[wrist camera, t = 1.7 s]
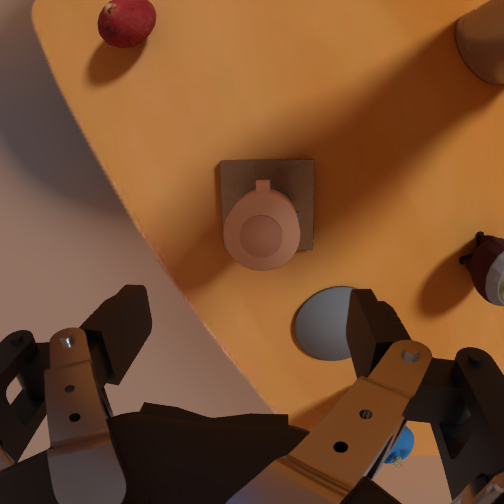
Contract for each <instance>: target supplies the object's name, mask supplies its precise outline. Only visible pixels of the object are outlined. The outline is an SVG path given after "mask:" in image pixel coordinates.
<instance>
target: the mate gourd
mask: <svg viewBox="0 0 504 504" xmlns="http://www.w3.org/2000/svg"><path fill="white" fill-rule="evenodd" d="M459 262H460V264H464V265H465V266H466V268H467V270H468V271H469V272H470V274H471V277H472V280H473V283H474V286H475V288H476V290H477V291H478V293H479V294H480V295H481V296H482V297H483V298H484V299H485V300H486V301H488V302H490V303H492V304H494V305H499V306H504V239H502V238H497V237H494V236H490V235H484V232H481V231H480V232H478V233H477V250H476V251H475V253H474V254H471V255H467V256H463V257H460V258H459Z"/></svg>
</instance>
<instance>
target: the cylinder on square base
mask: <svg viewBox="0 0 504 504" xmlns="http://www.w3.org/2000/svg"><path fill="white" fill-rule="evenodd" d="M220 178H221V200H222V221H223V231H224V225H225V221H226V219H227V217H228V215H229V214H230V212H231V211H232V209H233V208H234V206H235V205H236V203H237V202H238V201H239V200H240V198H241V197H243V196H244V195H245V194H247V193H248V192H250V191H253V190H256V181H257V180H270V189H273V190H276V191H278V192H280V193H282V194H284V195H285V196H286V197H287V198H288V199H289V200H290V201H291V202H292V204H293V206H294V208H295V210H296V213H297V218H298V223H299V228H300V241H299V245H298V248H297V250H313V218H314V160H309V159H258V160H223V161H220ZM223 240H224V236H223ZM224 250H227V248H226V245H225V242H224Z"/></svg>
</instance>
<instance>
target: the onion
mask: <svg viewBox="0 0 504 504" xmlns="http://www.w3.org/2000/svg"><path fill="white" fill-rule="evenodd" d="M155 23H156V12H155V9H154V6H153V5H152V3H150V2H149V1H148V0H112V1H110V2H109V3H108V4H107V5H105V7H104V8H103V9H102V11H101V13H100V15H99V19H98V31H99V34H100V36H101V37H102V38H103V39H104V40H105V42H107V43H108V44H109V45H112V46H115V47H118V48H127V47H133V46H135V45H137V44H138V43H140V42H142V41H143V40H144V39H145V38H146V37H147V36H148V35H149V34H150V33H151V31H152V30H153V28H154V26H155Z"/></svg>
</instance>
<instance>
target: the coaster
mask: <svg viewBox="0 0 504 504" xmlns="http://www.w3.org/2000/svg"><path fill="white" fill-rule="evenodd" d="M352 289H356V288H353V287H348V286H335V287H330V288H326V289H323V290H321V291H319V292H317V293H315V294H314V295H312V296H311V297H310V298H309V299H307V300H306V301H305V302H304V304H303V305H302V306H301V308H300V309H299V311H298V313H297V316H296V320H295V335H296V338H297V341H298V343H299V345H300V346H301V348H302V349H303V350H304V351H305V352H307V353H308V354H309V355H311V356H313V357H315V358H318V359H321V360H327V361H337V360H343V359H347V358H350V357H351V354H350V350H349V347H348V343H347V339H346V323H347V316H348V308H349V300H350V293H351V290H352Z"/></svg>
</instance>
